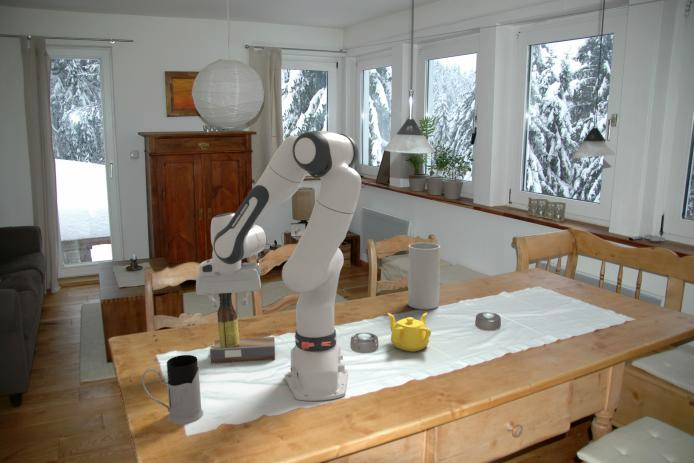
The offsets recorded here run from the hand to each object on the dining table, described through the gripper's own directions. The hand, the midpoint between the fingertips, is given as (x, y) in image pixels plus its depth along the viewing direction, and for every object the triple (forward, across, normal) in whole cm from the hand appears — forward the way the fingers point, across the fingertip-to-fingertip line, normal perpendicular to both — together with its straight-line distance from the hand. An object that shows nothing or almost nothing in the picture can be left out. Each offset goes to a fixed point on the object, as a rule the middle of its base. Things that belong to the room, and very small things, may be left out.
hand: (230, 305), depth 181 cm
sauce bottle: (+15, +1, 0) cm, 15 cm away
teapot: (+18, -58, +2) cm, 61 cm away
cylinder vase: (+18, -74, -38) cm, 86 cm away
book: (+16, -3, -2) cm, 17 cm away
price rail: (+15, -3, +6) cm, 17 cm away
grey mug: (+17, +13, +38) cm, 44 cm away
